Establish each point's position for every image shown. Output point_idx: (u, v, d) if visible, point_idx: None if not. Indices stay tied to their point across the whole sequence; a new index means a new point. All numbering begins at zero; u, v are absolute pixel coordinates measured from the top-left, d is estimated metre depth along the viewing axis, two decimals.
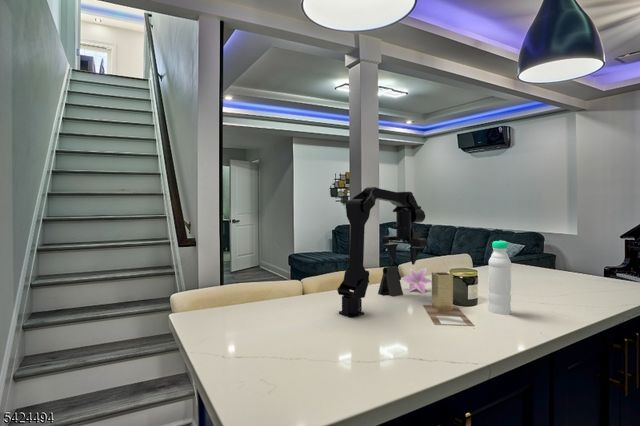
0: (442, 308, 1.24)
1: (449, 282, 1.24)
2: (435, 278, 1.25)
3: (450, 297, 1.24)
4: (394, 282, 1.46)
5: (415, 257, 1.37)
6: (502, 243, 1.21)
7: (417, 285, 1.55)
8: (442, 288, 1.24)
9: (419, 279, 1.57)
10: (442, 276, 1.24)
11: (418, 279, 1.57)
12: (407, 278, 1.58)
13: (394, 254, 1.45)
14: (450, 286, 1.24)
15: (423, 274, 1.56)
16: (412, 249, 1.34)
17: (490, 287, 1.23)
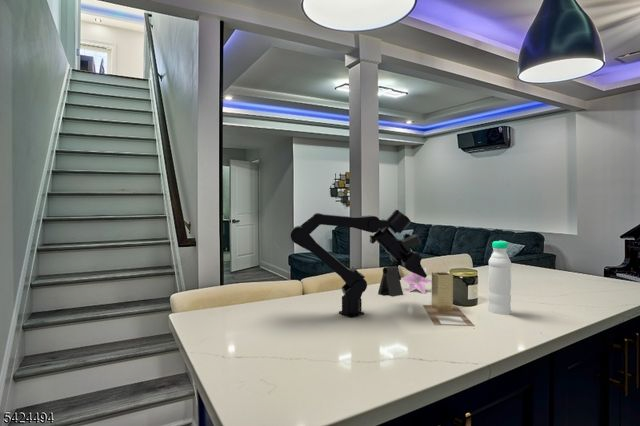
0: (442, 308, 1.24)
1: (449, 282, 1.24)
2: (435, 278, 1.25)
3: (450, 297, 1.24)
4: (394, 282, 1.46)
5: (421, 271, 1.20)
6: (502, 243, 1.21)
7: (417, 285, 1.55)
8: (442, 288, 1.24)
9: (419, 280, 1.57)
10: (442, 276, 1.24)
11: (418, 279, 1.57)
12: (407, 279, 1.57)
13: None
14: (450, 286, 1.24)
15: None
16: None
17: (490, 287, 1.23)
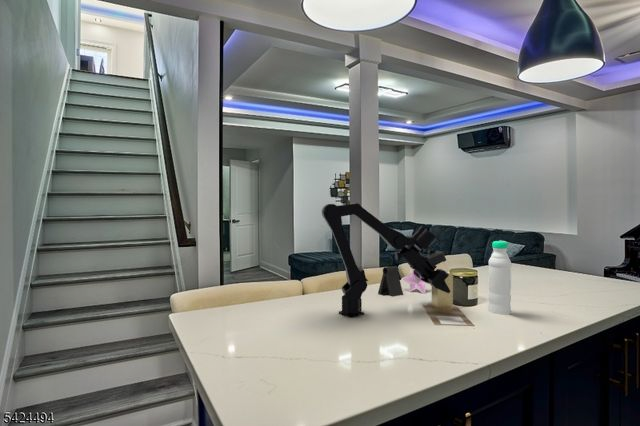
0: (442, 308, 1.24)
1: (449, 282, 1.24)
2: None
3: (450, 297, 1.24)
4: (394, 282, 1.46)
5: (445, 287, 1.22)
6: (502, 243, 1.21)
7: (417, 285, 1.55)
8: None
9: (419, 280, 1.57)
10: None
11: (418, 279, 1.57)
12: (408, 279, 1.57)
13: None
14: (450, 286, 1.24)
15: None
16: None
17: (490, 287, 1.23)
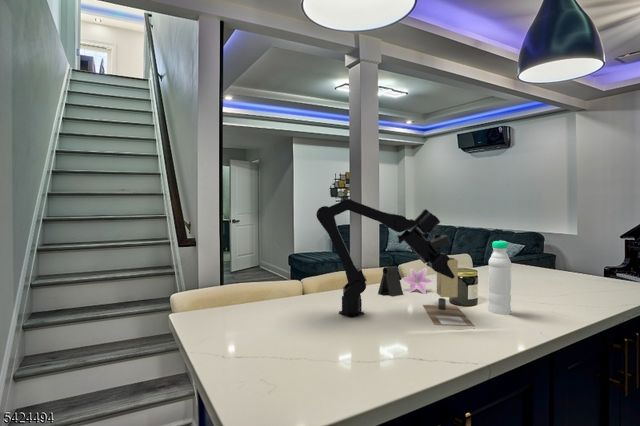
0: (446, 294, 1.19)
1: (453, 267, 1.19)
2: None
3: (454, 282, 1.19)
4: (394, 282, 1.46)
5: (448, 272, 1.18)
6: (502, 243, 1.21)
7: (418, 285, 1.55)
8: None
9: (420, 280, 1.57)
10: None
11: (419, 279, 1.57)
12: (408, 279, 1.57)
13: None
14: (455, 271, 1.19)
15: (423, 274, 1.56)
16: None
17: (490, 287, 1.23)
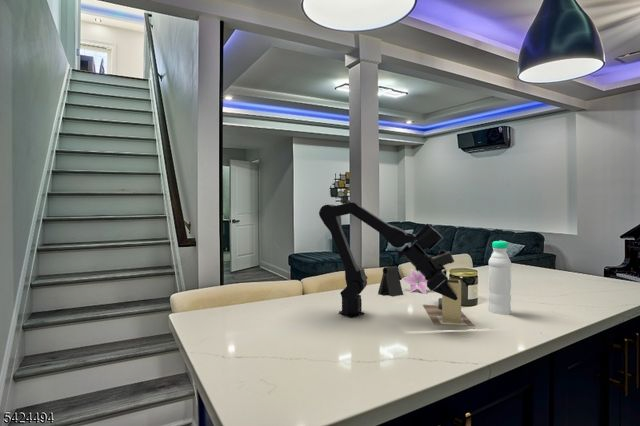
0: (448, 319, 1.12)
1: (456, 291, 1.11)
2: None
3: (457, 308, 1.11)
4: (394, 282, 1.46)
5: (449, 293, 1.09)
6: (502, 243, 1.21)
7: (418, 285, 1.54)
8: None
9: (420, 280, 1.56)
10: (448, 283, 1.11)
11: (419, 279, 1.57)
12: (408, 279, 1.57)
13: None
14: (458, 296, 1.11)
15: None
16: None
17: (490, 287, 1.23)
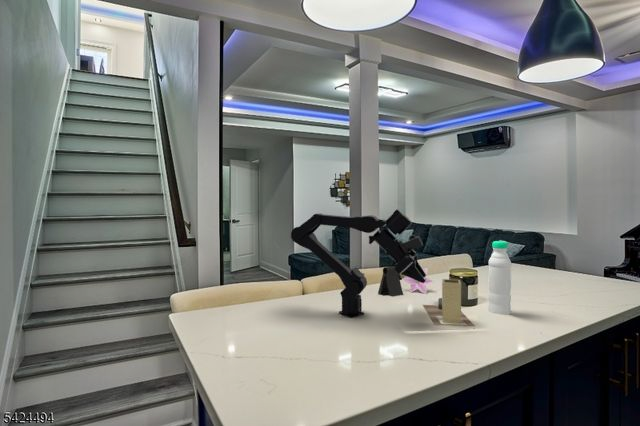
0: (448, 319, 1.12)
1: (456, 291, 1.11)
2: (442, 285, 1.14)
3: (457, 308, 1.11)
4: (394, 282, 1.47)
5: (417, 276, 1.11)
6: (502, 243, 1.21)
7: (418, 286, 1.54)
8: (448, 297, 1.12)
9: None
10: (448, 283, 1.11)
11: None
12: (408, 279, 1.56)
13: (418, 270, 1.21)
14: (458, 296, 1.11)
15: None
16: None
17: (490, 287, 1.23)
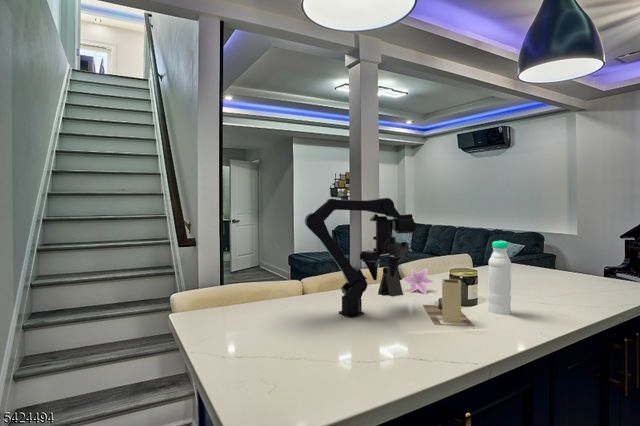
0: (448, 319, 1.12)
1: (456, 291, 1.11)
2: (442, 285, 1.14)
3: (457, 308, 1.11)
4: (394, 282, 1.47)
5: (373, 272, 1.22)
6: (502, 243, 1.21)
7: (418, 286, 1.54)
8: (448, 297, 1.12)
9: (420, 280, 1.56)
10: (448, 283, 1.11)
11: (419, 280, 1.56)
12: (409, 279, 1.56)
13: (392, 268, 1.28)
14: (458, 296, 1.11)
15: (424, 275, 1.55)
16: None
17: (490, 287, 1.23)
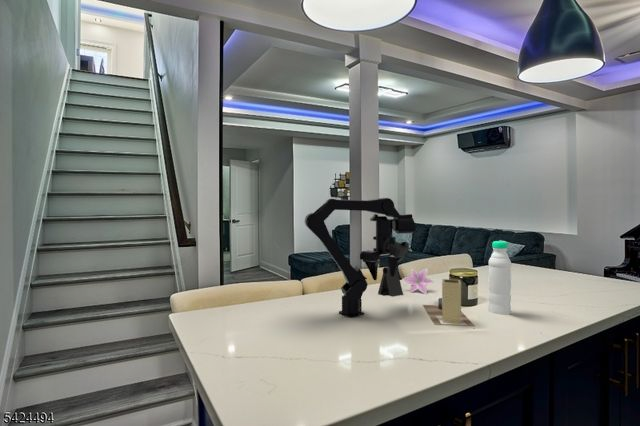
0: (448, 319, 1.12)
1: (456, 291, 1.11)
2: (442, 285, 1.14)
3: (457, 308, 1.11)
4: (394, 282, 1.46)
5: (373, 272, 1.22)
6: (502, 243, 1.21)
7: (419, 286, 1.54)
8: (448, 297, 1.12)
9: (420, 280, 1.56)
10: (448, 283, 1.11)
11: (419, 280, 1.56)
12: (409, 279, 1.56)
13: (392, 268, 1.28)
14: (458, 296, 1.11)
15: (424, 275, 1.55)
16: None
17: (490, 287, 1.23)
